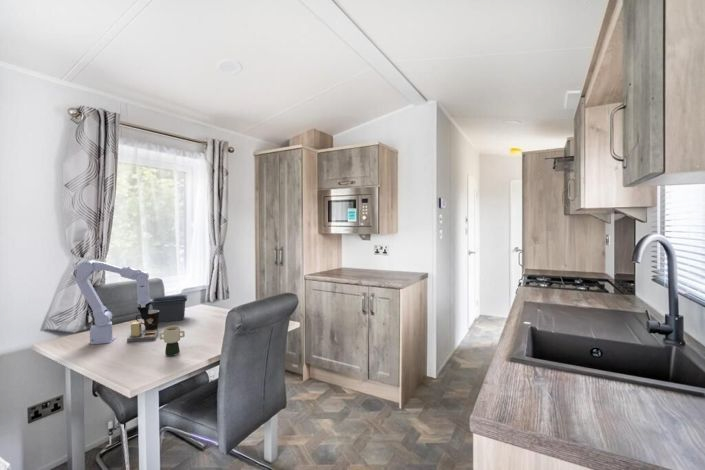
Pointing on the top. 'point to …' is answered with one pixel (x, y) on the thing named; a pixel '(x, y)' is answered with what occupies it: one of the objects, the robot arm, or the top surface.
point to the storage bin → (169, 307)
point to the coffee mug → (151, 320)
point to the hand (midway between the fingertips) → (145, 317)
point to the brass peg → (136, 329)
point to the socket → (143, 337)
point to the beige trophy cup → (171, 339)
